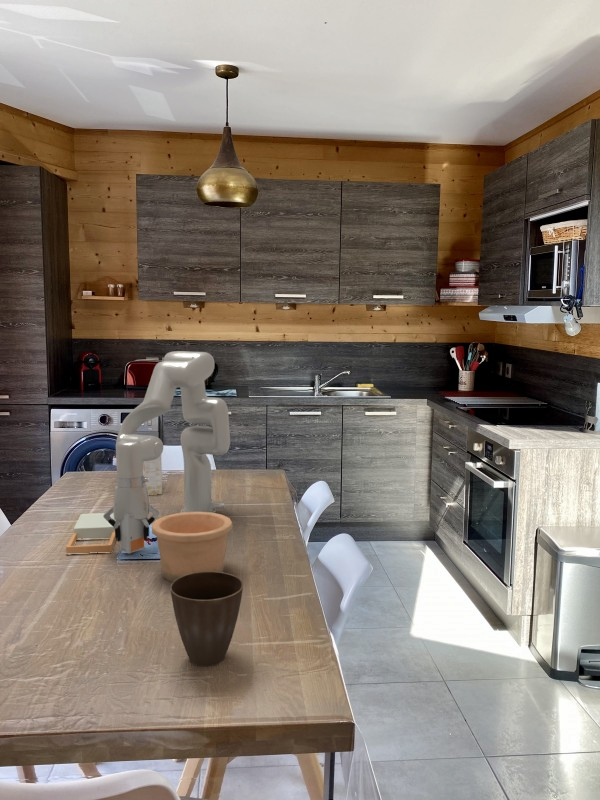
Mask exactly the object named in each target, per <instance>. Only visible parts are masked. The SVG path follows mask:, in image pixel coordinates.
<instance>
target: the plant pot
mask: <svg viewBox="0 0 600 800" xmlns="http://www.w3.org/2000/svg"><path fill="white" fill-rule="evenodd" d="M169 587H170V588H169V589H170V595H171V596H170V597H171V600H172V601H171V602H172V606H173V607H172V608H173V613H174V617H175V622H176V624H177V625H176V626H177V629H178V631H179V635H180V639H181V642H182V645H183V647H184V649H185V652H186V655H187V657H188V659H189V661H190V662H191V663H192V664H194V665H195V666H200V667H210V666H211V667H212V666H215V665H218V664H220V663H222V662H223V661H224V659H225V657H226V655H227V652H228V649H229V647H230V645H231V641H232V638H233V635H234V632H235V630H236V629H235V628H236V625H237V621H238V616H239V613H240V609H241V603H242V596H243V590H244V582H243V581H242V579H241V578H240V577H238V576H236V575H234V574H232V573H227V572H224V571H223V572H197V573H191V574H188V575H184V576H182V577H180V578H178V579H176V580H175V581H174V582H171V584H170V585H169Z"/></svg>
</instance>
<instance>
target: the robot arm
mask: <svg viewBox="0 0 600 800" xmlns="http://www.w3.org/2000/svg"><path fill="white" fill-rule="evenodd" d="M214 369H215V360H214V357H213V356H212V354H210V353H209V352H205V351H188V350H187V351H184V350H183V351H181V350H179V351H178V350H177V351H170V352H167V353H166V354H165V355H164V359H163V361H159V362H157V363H156V364H155V366H154V368H153V371H152V374H151V377H150V381H149V383H148V387H147V389H146V393H145V395H144V399H143V401H142V402H141V403H140V404H138V405H137V406H136V407H134V409H132V410H131V412H129V414H128V415H127V416H126V417H125V418H124V420H123V421H122V423H121V425H120V426H119V427H120V429H119V431H118V433H117V436H116V442H115V457H116V458H115V459H116V460H115V461H116V483H117V484H116V485H115V487H114V492H113V506H112V507H111V508H110V509H108V511H106V512H104V513H105V514H104V516H103V517H104V518H105V519H106V520H107V521H108V522H109V524H111V525H112V526H113V527H114V529H115V538H117V539H116V540H117V542H119V543H120V525H119V524H120V522H121V520H124V515H125V514H133V515H134V519H136V520H140V519H141V520H142V521H143V523H144V541H147V540H148V537H150V525H152V524H153V523H154V521H155V520H157V519H158V516H159V515H160V511H159V510H157V509H156V508H154V507H153V506H152V505H150V501H149V499H150V498H149V496H148V491H147V486H146V484H143V483H144V482H148V477H144V476H143V462H144V461H151V460H155V459H157V458H158V457H159V456H160V455H161V456H162V454H163V451H164V443H163V441H162V440H161V438H159V437H157V436H154V435H149V434H148V435H147V434H136V432H137V431H138V430H139V428H140V427H141V426H142V425H144V424H145V423H147V422H148V421H150V420H153V419H156V418H158V417H160V416H163V415H165V414H167V413H168V412H169V411H170V409H171V405H172V403H173V399H174V397H175V394H176V390H177V389H178V388H180V397H181V407H182V408H181V410H182V417H183V419H184V420H185V422H187V423H189V424H194V425H192V426H187V427H186V428H184V429H183V430H182V431H181V434H180V445H181V450H182V457H183V458H182V459H183V482H184V484H183V486H184V487H183V489H184V497H183V498H184V508H182V509H181V510H180V512H179V513H183V512H211V513H216V514H217V510H218V509H219V510H220V509H221V510H223V509H225V503H224V502H222V503H221V501H219V502H215V501H213V498H212V464H211V461H210V458H209V457H208V456H207V455H211V456H212V455H213V456H223V455H225V454H227V453H228V451H229V450H230V447H231V435H230V434H231V432H230V418H229V409H228V405H227V403H226V401H225V400H224V399H223V398H220V397H210V396H207V391H206V385H205V384H206V383H205V381H206V380H207V379H208V378H209V377H211V376H212V374H213V373H214ZM196 425H199V426H196ZM200 425H205V426H200ZM206 425H207V426H206ZM216 509H217V510H216ZM112 513H114V519H116V521H115V520H114V519H112V518H111V517H110V515H111V514H112ZM150 513H151V514H152V515H151V516H150V518H149V514H150ZM147 517H148V518H147ZM156 518H157V519H156Z"/></svg>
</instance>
